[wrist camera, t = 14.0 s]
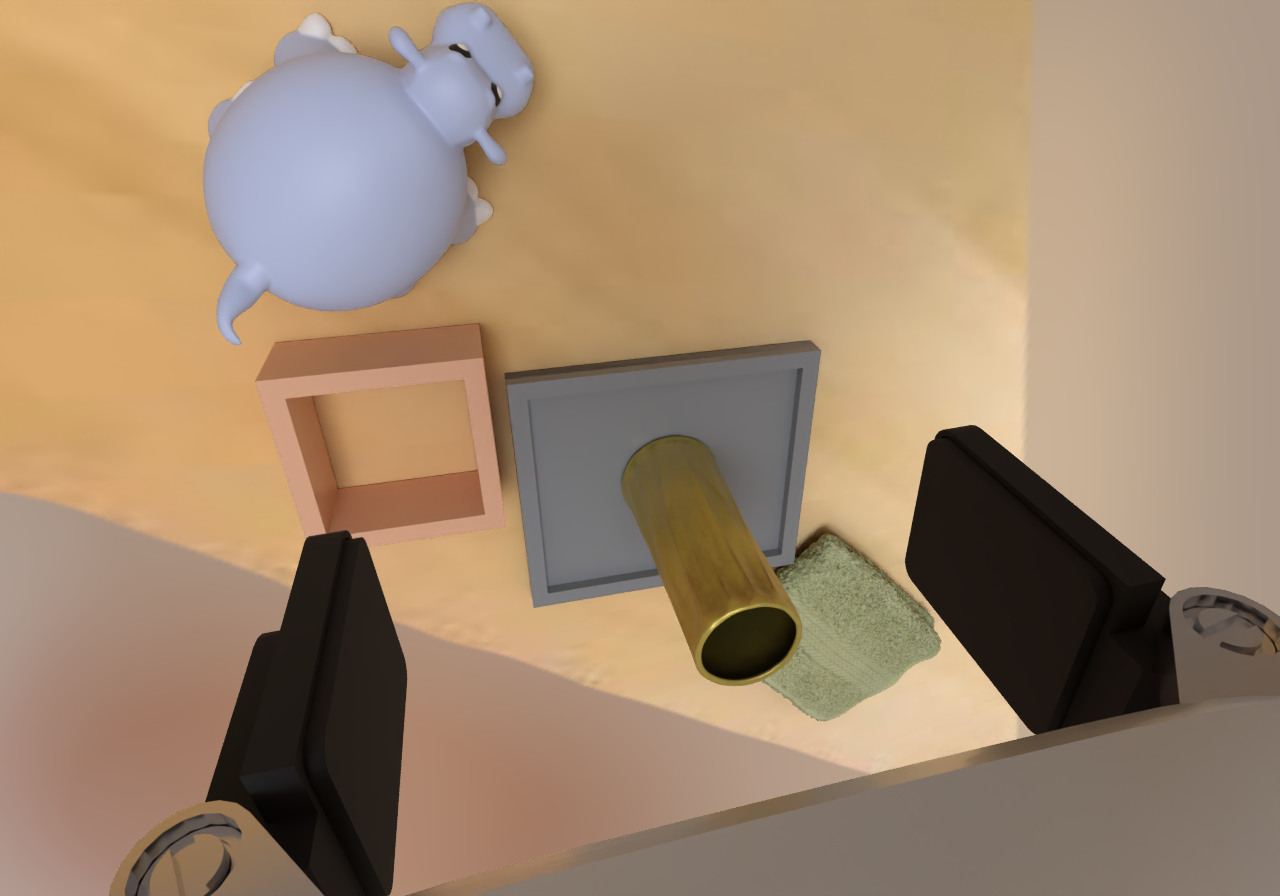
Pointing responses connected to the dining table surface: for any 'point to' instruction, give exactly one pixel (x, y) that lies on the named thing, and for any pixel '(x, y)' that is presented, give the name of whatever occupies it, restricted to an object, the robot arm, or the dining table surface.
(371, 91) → the hippopotamus toy
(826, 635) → the washcloth
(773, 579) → the vase
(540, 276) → the dining table surface
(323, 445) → the pink square frame
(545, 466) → the tray
